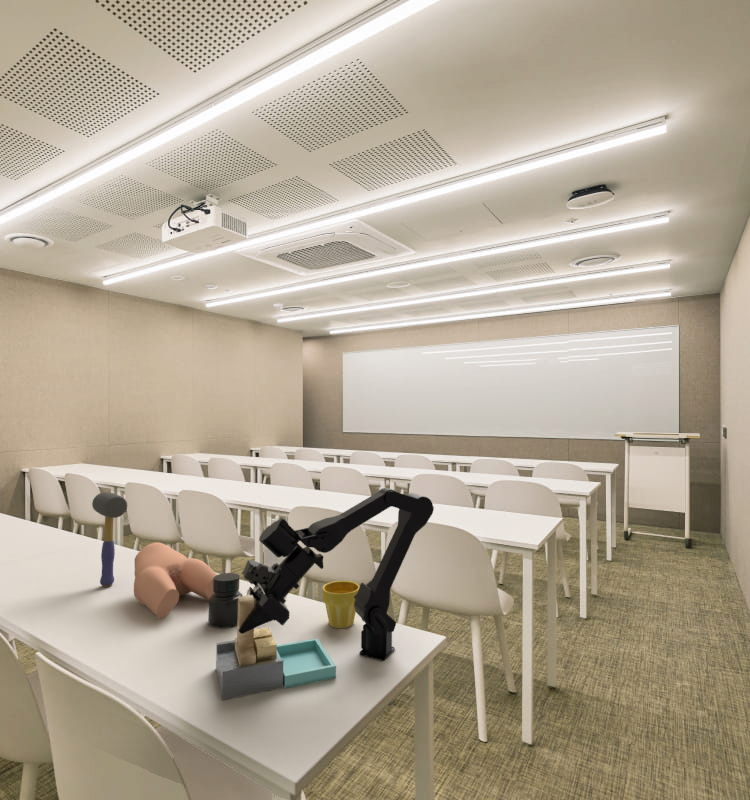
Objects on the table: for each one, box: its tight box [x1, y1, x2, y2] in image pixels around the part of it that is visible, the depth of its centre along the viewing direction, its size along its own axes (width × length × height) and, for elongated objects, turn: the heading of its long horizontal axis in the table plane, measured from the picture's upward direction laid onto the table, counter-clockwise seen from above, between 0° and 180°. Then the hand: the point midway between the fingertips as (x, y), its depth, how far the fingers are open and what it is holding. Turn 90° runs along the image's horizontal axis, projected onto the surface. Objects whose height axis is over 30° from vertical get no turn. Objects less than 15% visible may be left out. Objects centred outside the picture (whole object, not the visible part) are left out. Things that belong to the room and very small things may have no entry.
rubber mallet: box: [91, 491, 128, 588], centre depth 158 cm, size 12×8×30 cm, turn 48°
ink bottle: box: [207, 572, 244, 628], centre depth 132 cm, size 10×9×12 cm
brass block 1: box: [254, 627, 273, 640], centre depth 107 cm, size 4×4×4 cm
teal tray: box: [277, 638, 337, 689], centre depth 108 cm, size 11×14×2 cm
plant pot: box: [321, 580, 360, 629], centre depth 131 cm, size 10×10×10 cm
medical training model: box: [133, 541, 218, 620], centre depth 146 cm, size 21×25×13 cm
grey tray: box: [215, 639, 284, 701], centre depth 103 cm, size 12×13×6 cm
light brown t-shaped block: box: [234, 595, 256, 666], centre depth 103 cm, size 3×9×12 cm, turn 23°
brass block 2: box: [254, 636, 278, 663], centre depth 102 cm, size 4×4×4 cm
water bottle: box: [263, 517, 288, 601], centre depth 144 cm, size 7×7×25 cm
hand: (238, 628), depth 103 cm, fingers closed on light brown t-shaped block, 3 cm apart
